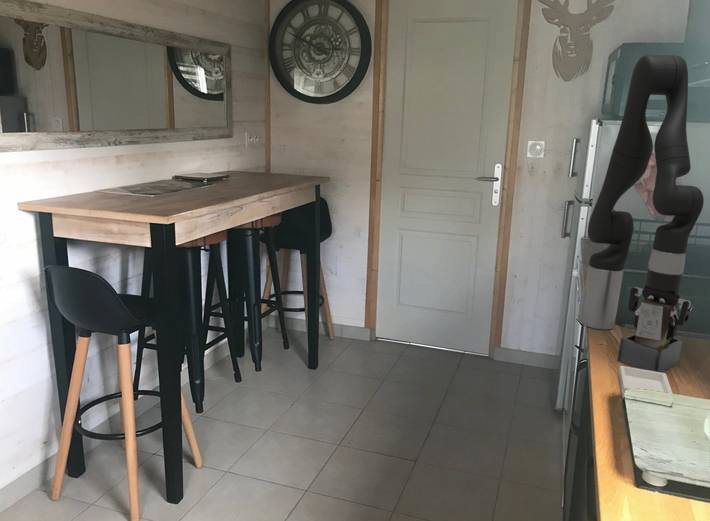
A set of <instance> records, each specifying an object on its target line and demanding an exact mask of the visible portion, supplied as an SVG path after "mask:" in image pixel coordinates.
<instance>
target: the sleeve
mask: <svg viewBox="0 0 710 521" xmlns="http://www.w3.org/2000/svg"><path fill="white" fill-rule="evenodd" d="M635 335H636V332H634V333H631V334H628V335H627V336H623V337H622V338H620V342H619V343H620V344H619V349H618V354H617V360H616V361H617V362H618V363H622V364H624V365H628V366H629V367H630V366H631V368H637V369H643V370H649V371H654V372H660V373H664V372H665V371H667V370H669V369H671V368H672V367H675V366H677V365H679V364H680V363H681V362H680V361H681V357H682V352H683V348H684V342H685V340H684V339H681V338H678V337H674V338H673V339H671V340H670V344H669V345H668V346H665V347H663V348H661V349H656V348H653V347H650V346H647V345H644V344H641V343H638V342H634V341H635Z"/></svg>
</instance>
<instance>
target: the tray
mask: <svg viewBox="0 0 710 521" xmlns="http://www.w3.org/2000/svg"><path fill="white" fill-rule="evenodd" d="M618 380H619V386H620V387H619V388H620V392H621V397H622V399H625V398H624V393H625V391H626V390H628V389H636V388H640V389H641V390H642V389H647V390H653V391H660V392H665V393H668V394H670V395H673V396H674V394H673V390H672V388H671V386H670V382H669V379H668V377H667V374H666V373H665V372H661V373H660V372H654V371H649V370H643V369H638V368H635V367H632V366H631V367H630V366H624V365H619V370H618Z"/></svg>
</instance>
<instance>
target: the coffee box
mask: <svg viewBox="0 0 710 521" xmlns="http://www.w3.org/2000/svg"><path fill="white" fill-rule="evenodd" d="M678 305H679V303H677V304H676V305H675V309H676V310H677V308H678ZM640 306H641V308H640V313H639V319H638V324H637V330H636V329H635V333H636V335H635V341H634V342H638V343H641V344H644V345H647V346H650V347H653V348H656V349H661V348H663V347H665V346H668V345H669V344H670V340H668V339H666V337H667V331H668V326H669V325H670V323H669V320H670V314H671V312H673V310H674V306H672V305H669V304H667V305H666V304H662V303H660V302H659V301H655V300H653V301H651V300H647V298H646V299H645V298H643V300H641V303H640Z"/></svg>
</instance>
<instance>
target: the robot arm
mask: <svg viewBox="0 0 710 521" xmlns="http://www.w3.org/2000/svg"><path fill="white" fill-rule="evenodd" d="M688 92H689V71H688V65H687V62H686V60H685V59H684V58H683V57H682V56H679V55H673V54H672V55H670V54H645V55H642V56H640V58H639V59H638V60H637V62H636V64H635V66H634V68H633V71H632V74H631V79H630V82H629V88H628V94H627V98H626V102H625V107H624V111H623V116H622V120H621V123H620V126H619V130H618V133H617V137H616V139H615V143H614V145H613V149H612V153H611V155H610V158H609V162H608V166H607V169H606V173H605V178H604V181H603V184H602V187H601V190H600V192H599V195H598V198H597V199H596V202H595V204H594V207H593V209H592V212H591V215H590V218H589V221H588V226H587V236H588V239H589V241H590V242H591V243H596V244H609V246H608V247H607V248H606V249H603V250H601V251H599V252H595V253H593V254H591V255H590V257H589V261H588V269H587V275H586V283H585V288H584V289H582V290H581V294H580V300H579V306H578V315H577V321H576V322H578V323H581V324H582V325H584V326H585V327H589V328H591V329H596V330H612V329H614V328H615V324H616V319H617V311H618V306H619V300H620V299H619V298H620V295H621V294H620V293H621V288H622V282H623V281H622V280H623V276H624V268H625V264H626V262H627V260H628V256H629V251H630V246H631V243H632V242H631V241H632V238H633V237H632V236H633V234H634V218H633V215H632V214H631V212H628V211H623V210H613V209H614V208H615V206H616V205H617V202H619V200H620V198H621V197H622V196H623V195H624V194H625V193H627V192H628V191H629V189H631V188H632V187H633V186H634V185H635V184H637V183H638V182H639V180H641V178H642V177H644V175H645V173H646V171H647V169H648V166H649V162H650V159H651V157H652V154H653V151H654V158H655V164H656V174H655V176H656V177H655V181H654V188H653V193H652V205H653V207H654V209H655V210H656V212H657V213H658V214H660V215H661V216H669V217H671V216H673V218H672V220H671V221H670V222H669V223H668V222H667V223H663V224H661V225H658V227H657V228H656V230H655V234H654V239H653V245H652V250H651V253H650V256H649V260H648V263H647V272H646V278H645V282H644V283H645V284H644V285H645V286H644V287H643V288H641V287H640V286H633V287H631V289H630V292H629V299H628V308H627V310H628V311H629V312H633V313H634V315H635V316H634V322H633V327H634V328H635V331H636V330H637V324H638V319H639V313H640V308H641V305H640V306H639V299H640V296H641V295H642V296H641V297H643V299H646V298H647V300H651V301H653V300H655V301H659V302H660V303H662V304H666V305H667V304H669V305H672V306H674V310H673V312H671V314H670V320H669V323H670V325H669V326H668V331H667V337H666V339H668V340H671V339H673V338H676V336H677V332H678V328H679V327H678V326H684V325H686V324H688V321H689V318H690V314H691V310H692V306H693V300H691V299H688V300H687V299H683V298H681V297H680V290H681V285H682V281H683V280H682V279H683V276H684V275H683V274H684V269H685V266H686V264H685V263H686V251H687V247H688V241H689V237H690V235H691V233H692V231H693V229H694V226H695V225H696V223H697V221H698V219H699V217H700V215H701V213H702V211H703V208H704V203H705V202H704V201H705V200H704V199H705V198H704V194H703V192H702V190H701V189H700V188H699V187H697V186H694V185H684V184H683V185H680V184H679V185H678V184H677V183H676V182H677V179H678V178H681V177H684V176H686V175H687V174H689V173H690V171H691V167H692V165H691V158H690V151H689V145H688V135H687V134H688V133H687V116H688V114H687V113H688V98H689V97H688V96H689V95H688ZM651 96H665V99H666V106H667V107H666V113H665V116H664V118H663V120H662V122H661V125H660V127H659V129H658V130H657V133H656V135H655V139H654V144H653V139H652V134H651V132H650V128H649V125H648V123H647V118H646V117H647V116H646V114H647V113H646V112H647V108H648V103H649V100H650V97H651ZM677 303H678V304H677ZM676 304H677V305H679V308H680V312H679V313H680V314H679V317H678V311H677V309H675V305H676Z"/></svg>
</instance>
